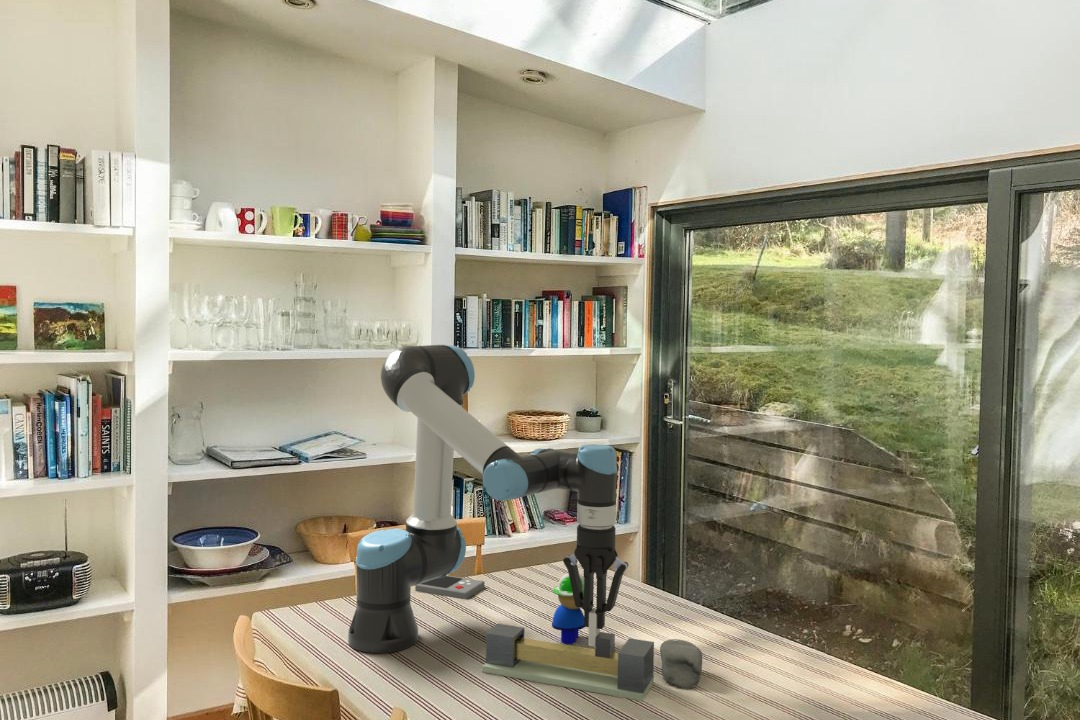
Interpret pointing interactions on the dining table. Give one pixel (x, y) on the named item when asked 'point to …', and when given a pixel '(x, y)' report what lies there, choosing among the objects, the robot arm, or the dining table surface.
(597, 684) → the base plank
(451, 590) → the electronic device
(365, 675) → the dining table surface
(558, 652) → the sliding bolt
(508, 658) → the guide sleeve
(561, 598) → the toy
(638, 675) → the socket block
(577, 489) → the robot arm
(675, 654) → the stone
